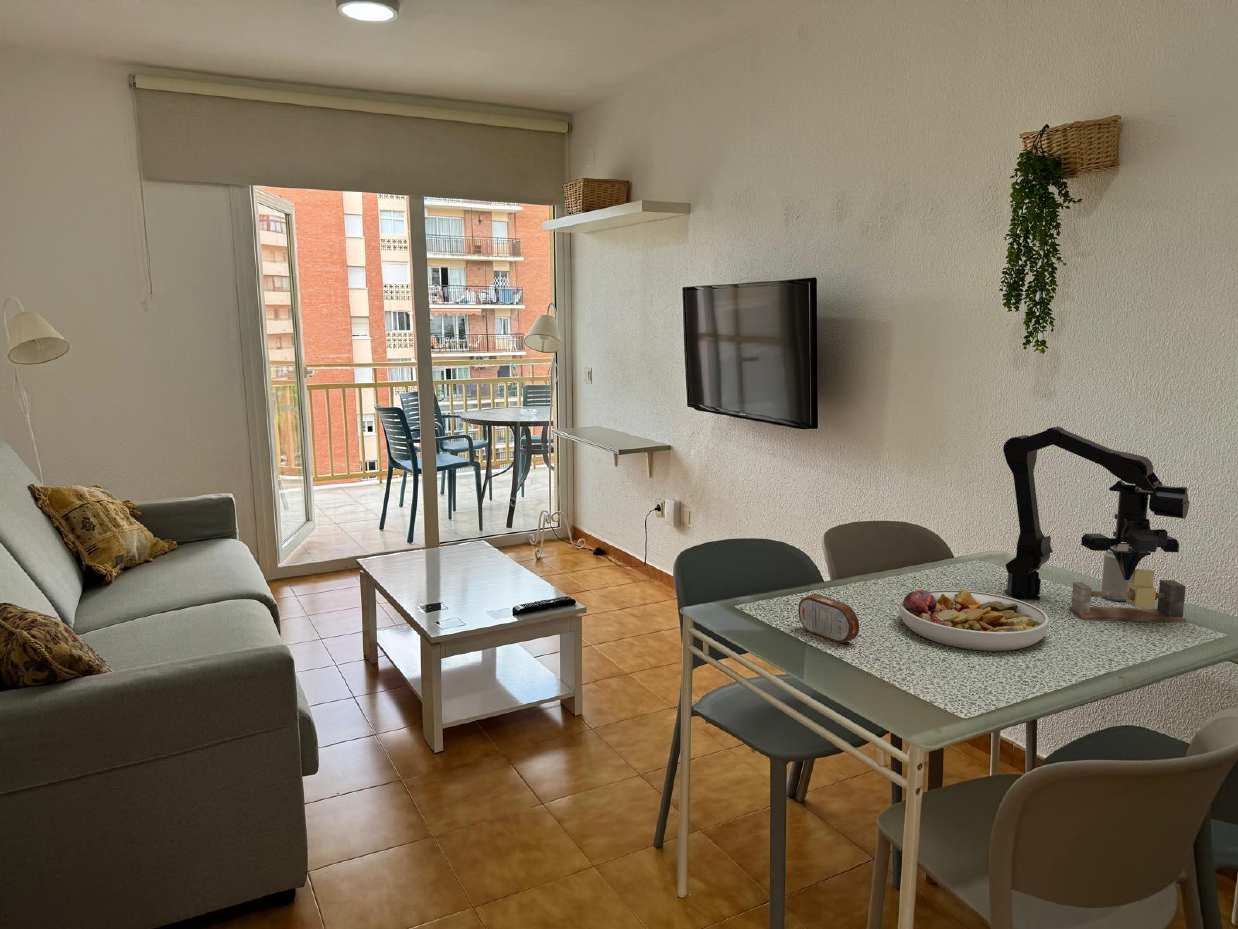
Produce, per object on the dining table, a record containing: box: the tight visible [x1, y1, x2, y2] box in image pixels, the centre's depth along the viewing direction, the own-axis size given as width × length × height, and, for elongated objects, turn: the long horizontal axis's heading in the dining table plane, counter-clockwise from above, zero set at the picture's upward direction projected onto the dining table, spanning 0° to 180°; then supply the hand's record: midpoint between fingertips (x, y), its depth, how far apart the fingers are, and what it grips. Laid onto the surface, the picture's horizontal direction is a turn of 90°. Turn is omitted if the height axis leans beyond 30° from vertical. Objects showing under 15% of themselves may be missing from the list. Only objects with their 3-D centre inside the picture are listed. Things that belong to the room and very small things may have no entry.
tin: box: [798, 593, 860, 644], centre depth 185 cm, size 15×3×8 cm, turn 35°
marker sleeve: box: [1125, 568, 1157, 609], centre depth 198 cm, size 4×4×8 cm
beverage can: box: [1101, 550, 1132, 602], centre depth 212 cm, size 6×6×12 cm
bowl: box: [899, 589, 1050, 652], centre depth 189 cm, size 30×30×8 cm
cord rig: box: [1068, 579, 1187, 623], centre depth 199 cm, size 22×7×8 cm, turn 85°
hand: (1126, 579), depth 198 cm, fingers closed
